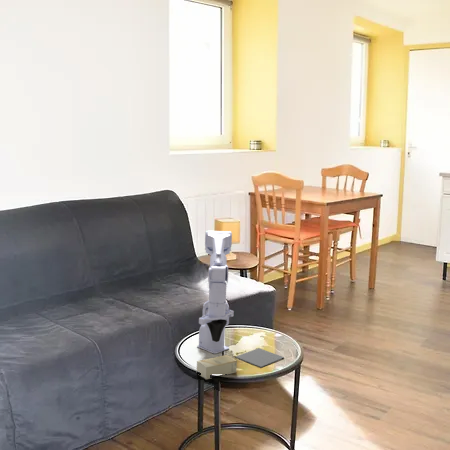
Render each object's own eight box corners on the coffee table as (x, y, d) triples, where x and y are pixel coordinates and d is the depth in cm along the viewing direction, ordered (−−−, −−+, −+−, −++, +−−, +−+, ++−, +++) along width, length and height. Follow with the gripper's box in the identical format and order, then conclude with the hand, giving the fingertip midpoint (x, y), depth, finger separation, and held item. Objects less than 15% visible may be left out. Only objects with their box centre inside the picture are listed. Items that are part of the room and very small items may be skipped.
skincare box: (237, 360, 192) (207, 367, 185) (236, 373, 192) (206, 380, 185) (226, 354, 197) (196, 360, 190) (226, 366, 197) (196, 373, 190)
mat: (235, 357, 205) (235, 356, 205) (258, 349, 214) (258, 348, 214) (260, 367, 197) (260, 366, 197) (284, 358, 206) (284, 357, 206)
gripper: (210, 308, 182) (208, 349, 184) (240, 300, 192) (239, 339, 194) (194, 303, 186) (193, 343, 189) (225, 295, 197) (224, 333, 199)
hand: (215, 340), depth 192 cm, fingers closed
